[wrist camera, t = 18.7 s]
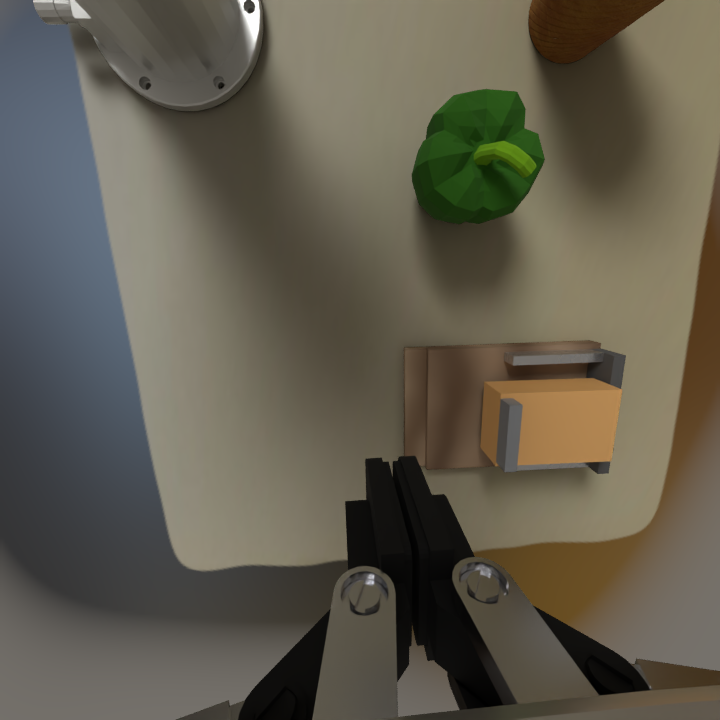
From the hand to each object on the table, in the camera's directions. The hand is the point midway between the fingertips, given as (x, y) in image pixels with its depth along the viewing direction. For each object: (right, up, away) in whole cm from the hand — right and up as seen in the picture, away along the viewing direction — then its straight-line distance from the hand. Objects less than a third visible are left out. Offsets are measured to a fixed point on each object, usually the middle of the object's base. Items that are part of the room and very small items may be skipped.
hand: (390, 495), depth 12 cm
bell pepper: (+7, +20, +19) cm, 28 cm away
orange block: (+15, 0, +22) cm, 26 cm away
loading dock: (+12, 0, +23) cm, 26 cm away
